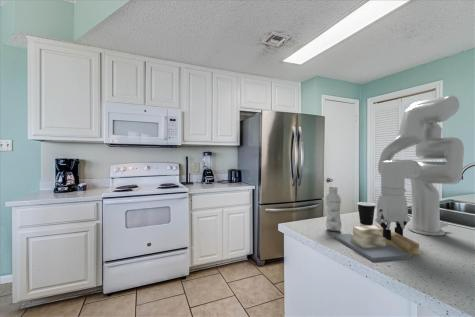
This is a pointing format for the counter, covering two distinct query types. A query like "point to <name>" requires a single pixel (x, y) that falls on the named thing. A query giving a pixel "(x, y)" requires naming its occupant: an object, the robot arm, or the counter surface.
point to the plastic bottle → (333, 210)
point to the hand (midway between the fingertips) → (392, 238)
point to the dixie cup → (366, 213)
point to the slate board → (374, 250)
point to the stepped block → (368, 236)
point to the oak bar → (402, 243)
